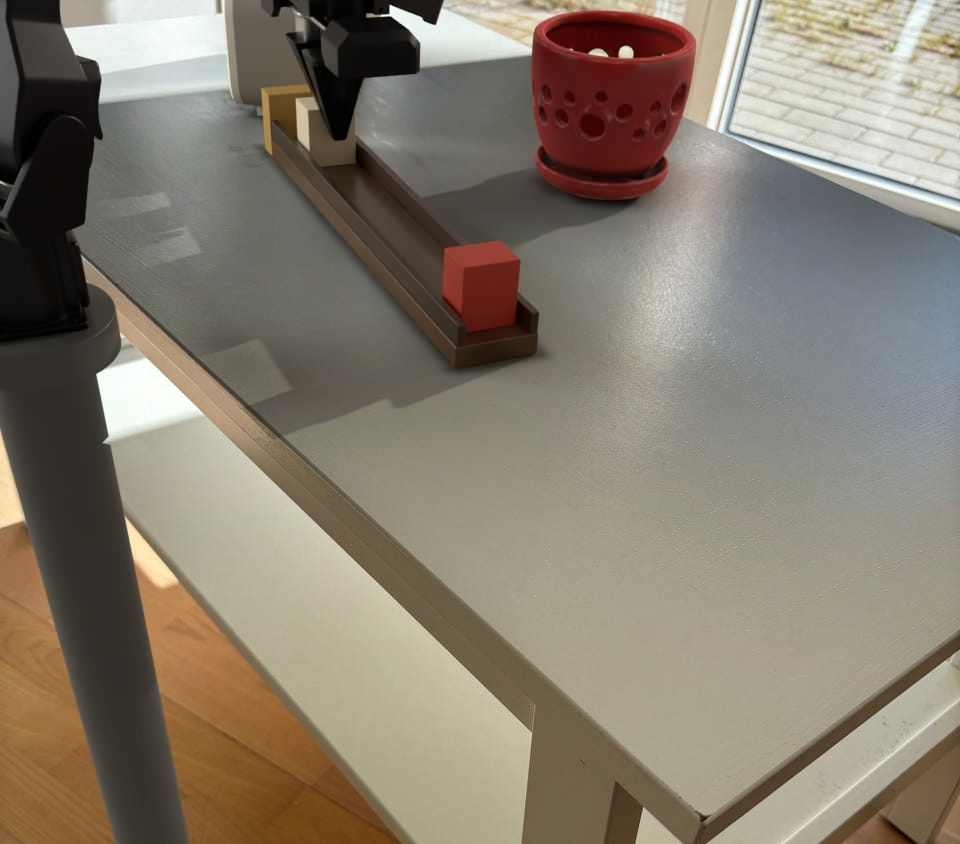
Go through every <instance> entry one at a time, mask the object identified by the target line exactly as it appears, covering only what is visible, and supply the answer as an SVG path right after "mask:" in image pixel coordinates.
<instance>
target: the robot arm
mask: <svg viewBox="0 0 960 844" xmlns="http://www.w3.org/2000/svg"><path fill="white" fill-rule="evenodd" d="M444 2H445V0H261V8H262V9H263V10H264V11H265V12H266V13H267V14H268V15H269V16H270V17H279V13H280V10H281V7H289V8H290V10H291V11H292V12H293V13H294V14H295V29H296V32H288V33H286V39H287V41H288V42H289V44H290V46H291V48H292V50H293V52H294V55H295V57H296V59H297V61H298V63H299V66H300V68H301V70H302V72H303V74H304V77H305V79H306V81H307V83H308V86H309V88H310V90H311V92H312V95H313V97H314V99H315V102H316V104H317V106H318V109H319V111H320V113H321V116H322V118H323V120H324V123H325V125H326V127H327V130H328V132H329V134H330V136H331V138H332V139H333V140H334V141H342V140H346V139H347V136H348V132H349V129H350V125H351V121H352V117H353V114H354V110H355V111H356V106H357V102H358V99H359V95H360V92H361V88H362V86H363V82H364V80H365V79H372V78H384V77H385V78H387V77H398V76H410V75H417V74H419V72H420V71H421V42H420V41H419V39H417V37H416V36H415V35H414V34H413V32H412V31H411V30H410V29H409V28H408V27H406V26H405V25H404V24H402V23H401V22H399V21H398V20H397V19H395V18H394V17H393V16H391V15H390V14H391V7H394V8H396V9H399V10H401V11H403V12H407V13H409V14H412V15H414V16H417V17H419V18H421V19H422V21H423V22H425V23H426V24H430V25H433V26H436V25H437V23H438V22H439V21H438V20H439V18H440V15H441V12H442V9H443V5H444ZM367 14H374V15H381V17H367ZM384 15H385V16H384ZM387 15H388V16H387ZM101 88H102V73H101V69H100V65H99V63H98V62H97V61H96V60H94V59H92V58H89V57H85V56H82V55H78V54H76V53H75V50H74V48H73V46H72V44H71V41H70V40H69V37H68V35H67V32H66V31H65V28H64V25H63V21H62V16H61V0H0V182H2V183H0V343H1V342H7V341H14V340H21V339H27V338H34V337H41V336H47V335H54V334H61V333H67V332H74V331H81V330H86V329H88V328H89V327H90V325H89V320H88V317H87V315H86V313H85V310H84V308H85V307H88V306H89V305H90V298H89V293H88V288H87V283H86V282H87V279H86V273H85V268H84V263H83V257H82V253H81V247H80V243H79V242H78V239H77V237H76V235H75V233H74V231H73V230H74V229H77V228H80V227H82V226H84V225H85V223H86V218H87V217H86V215H87V214H86V213H87V203H88V193H89V183H90V182H89V181H90V170H91V167H92V164H93V162H94V161H93V160H94V152H95V145H96V144H95V140H99V141H103V139H104V133H103V130H102V127H101V122H100V111H99V105H100V104H99V103H100V96H101ZM6 184H8V185H6ZM9 185H10V186H9Z"/></svg>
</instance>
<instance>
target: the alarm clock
mask: <svg viewBox="0 0 960 844" xmlns="http://www.w3.org/2000/svg"><path fill="white" fill-rule="evenodd" d="M367 17H382V15H374V14H367ZM222 19H223V20H222V21H223V30H224V40H225V41H224V42H225V53H226V64H227V78H228V86H229V92H230V95H231V98H232V100H233V101H234V102H235V103H236V104H240V105H250V106H256V116H260V117H263V107H262V92H261V88H266V87H279V86H292V85H305V84H308V83H307V81H306V79H305V77H304V74H303V72H302V70H301V68H300V66H299V63H298V61H297V59H296V57H295V55H294V52H293V50H292V48H291V46H290V44H289V42H288V41H287V39H286V33H288V32H296V29H295V14H294V13H293V12H292V11H291V10H290V8H289V7H281V10H280V13H279V17H270V16H269V15H268V14H267V13H266V12H265V11H264V10H263V9H262V8H261V0H222Z"/></svg>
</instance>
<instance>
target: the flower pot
mask: <svg viewBox="0 0 960 844" xmlns="http://www.w3.org/2000/svg"><path fill="white" fill-rule="evenodd" d="M531 45H532V46H531V59H530V60H531V62H530V63H531V64H530V65H531V67H530V72H531V73H530V76H531V77H530V78H531V103H532V112H533V118H534V123H535V127H536V128H535V129H536V131H537V134H538V137H539V140H540V143H541V144H540V145H539V146H538V147H537V149H536V150H535V153H534V164H535V167H536V168H537V171H538V173H539V174H540V176H541V177H542V178H543V180H545V181H546V182H547V183H548V184H550V185H551V186H553V187H555V188H556V189H558V190H560V191H562V192H564V193H567V194H569V195H573V196H576V197H580V198H583V199H588V200H599V201H619V200H621V201H622V200H624V201H631V200H633V199H634V198H639V197H641V196H643V195H646V194H649V193H650V192H653V191H654V190H655V189H657V188H658V187H659V186H660V185H661V184H663V182H664V181H665V180H666V178H667V175H668V173H669V170H670V163H669V160H668V158H667V157H666V156H665V155H664V154H665V153H666V151H667V150H668V149H669V147H670V145H671V143H672V142H673V140H674V138H675V136H676V134H677V132H678V129H679V127H680V124H681V122H682V119H683V115H684V112H685V109H686V106H687V102H688V100H689V95H690V90H691V85H692V81H693V75H694V71H695V70H694V69H695V63H696V54H697V40H696V38H695V36H694V34H693V33H692V32H691V31H689V29H687V28H686V27H684V26H683V25H681V24H678V23H676V22H673V21H671V20H668V19H666V18H661V17H658V16H653V15H649V14H645V13H644V14H643V13H639V12H631V11H621V10H607V9H606V10H605V9H604V10H603V9H600V10H599V9H591V10H589V9H588V10H587V9H586V10H578V11H571V12H565V13H560V14H556V15H554V16H551V17H548V18H547V19H544V20H542V21H541V22H539V23H538V24H537V25H536V26H535V28H534V30H533V33H532V44H531ZM623 47H628V48H630V49H631V51H632V57H620V51H621V49H622V48H623ZM594 50H601V51H603V52H604V53H605V54H606V55H607V56H606V55H598V54H590V53H591V52H593V51H594Z"/></svg>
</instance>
